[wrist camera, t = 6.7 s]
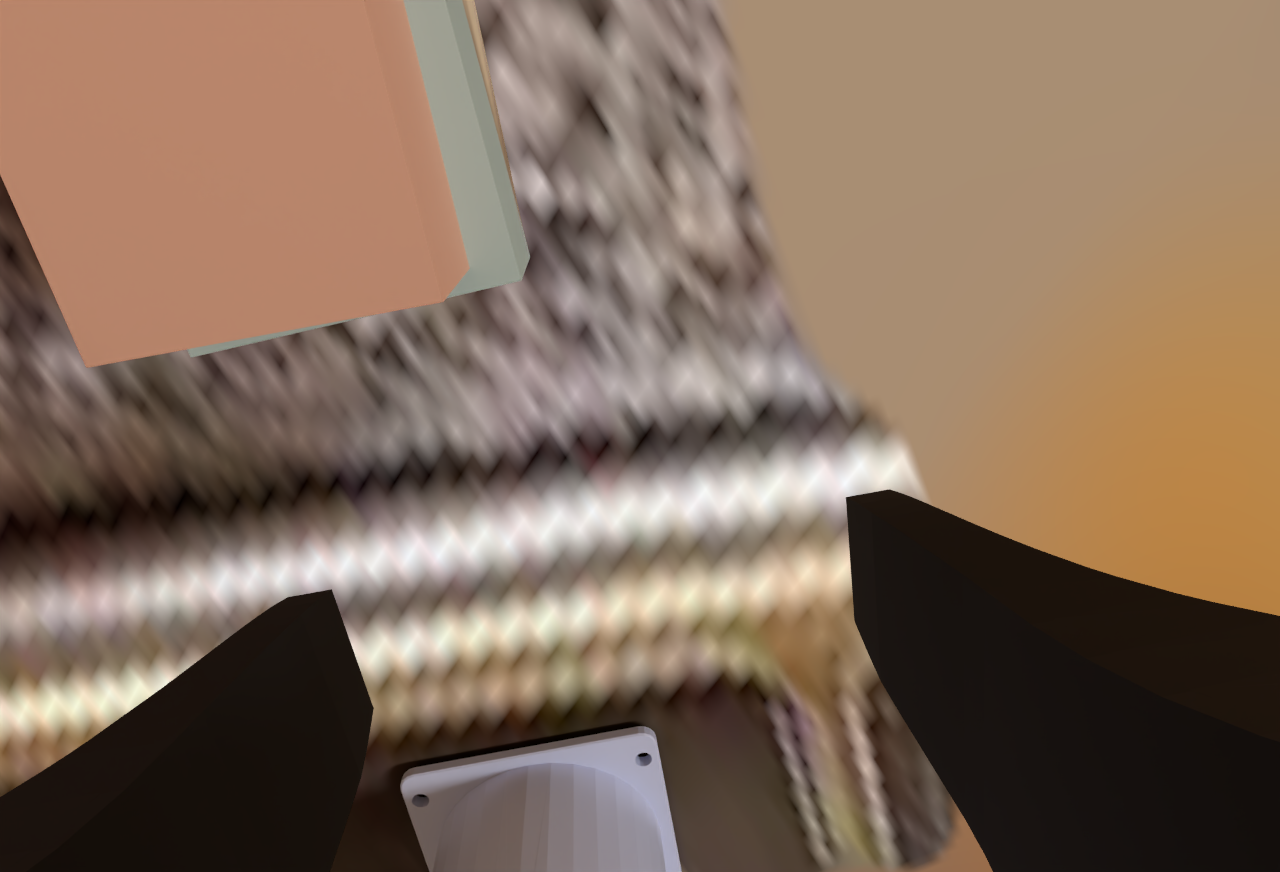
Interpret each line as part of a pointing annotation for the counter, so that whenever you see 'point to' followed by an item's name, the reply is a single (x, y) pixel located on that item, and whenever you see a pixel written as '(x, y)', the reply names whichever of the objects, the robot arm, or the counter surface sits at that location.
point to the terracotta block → (222, 167)
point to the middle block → (458, 155)
